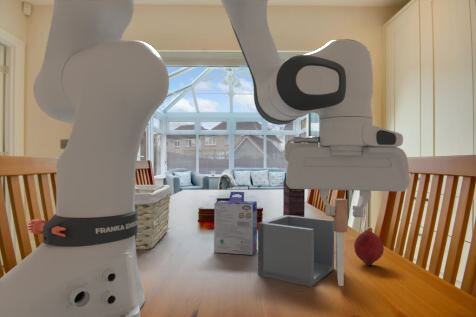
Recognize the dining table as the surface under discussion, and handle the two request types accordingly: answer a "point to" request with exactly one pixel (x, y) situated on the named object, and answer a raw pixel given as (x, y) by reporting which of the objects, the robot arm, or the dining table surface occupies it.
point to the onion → (368, 246)
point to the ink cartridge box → (235, 225)
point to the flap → (340, 236)
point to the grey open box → (296, 249)
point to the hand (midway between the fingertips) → (344, 216)
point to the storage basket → (151, 214)
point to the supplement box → (293, 201)
